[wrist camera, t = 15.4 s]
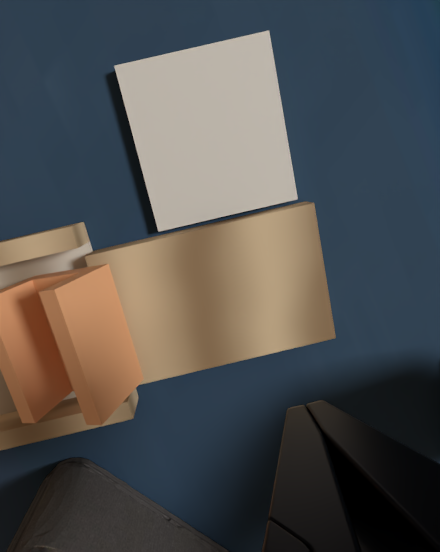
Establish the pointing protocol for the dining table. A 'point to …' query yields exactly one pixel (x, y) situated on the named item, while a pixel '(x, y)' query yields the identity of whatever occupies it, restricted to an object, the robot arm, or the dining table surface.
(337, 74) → the dining table surface
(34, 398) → the clip
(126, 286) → the rail
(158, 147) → the pad
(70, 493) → the camera
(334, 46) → the dining table surface
